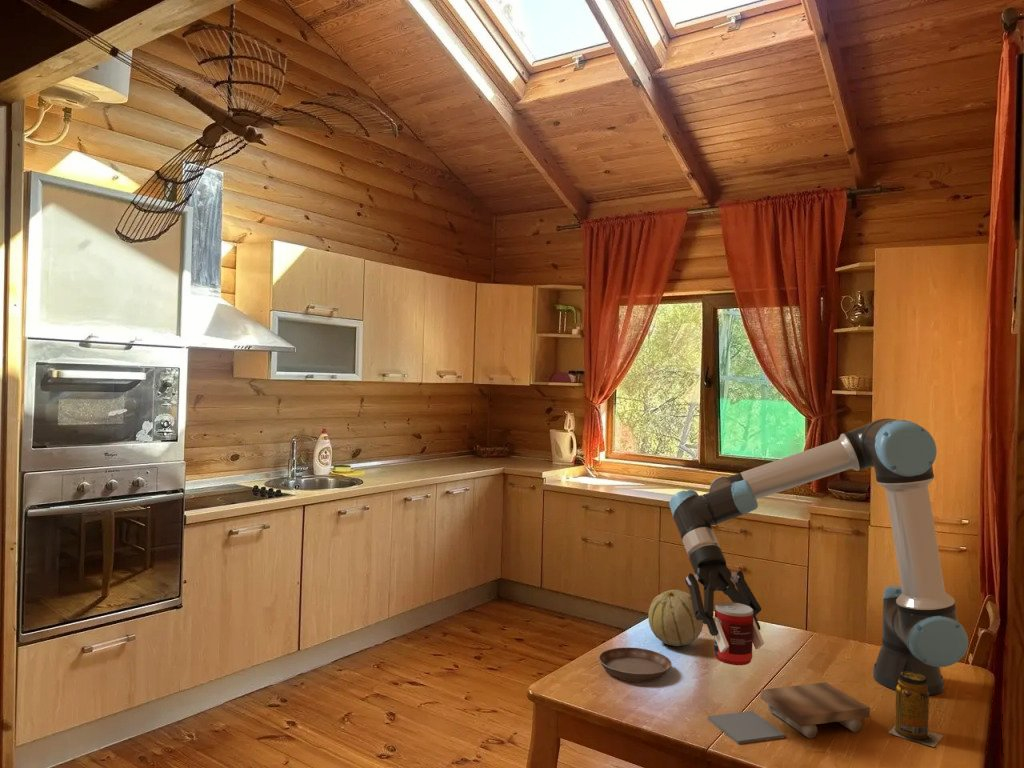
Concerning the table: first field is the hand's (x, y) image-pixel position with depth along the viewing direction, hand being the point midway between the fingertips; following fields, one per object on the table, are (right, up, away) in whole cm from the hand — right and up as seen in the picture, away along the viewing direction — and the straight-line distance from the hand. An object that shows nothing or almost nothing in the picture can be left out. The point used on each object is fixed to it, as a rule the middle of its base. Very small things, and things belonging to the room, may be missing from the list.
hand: (742, 647), depth 154 cm
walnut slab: (+16, -17, +3) cm, 23 cm away
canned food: (-1, -4, +3) cm, 5 cm away
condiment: (+35, -18, -2) cm, 39 cm away
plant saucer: (-18, -16, +28) cm, 37 cm away
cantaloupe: (-4, -16, +47) cm, 50 cm away
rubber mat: (0, -16, -1) cm, 16 cm away
